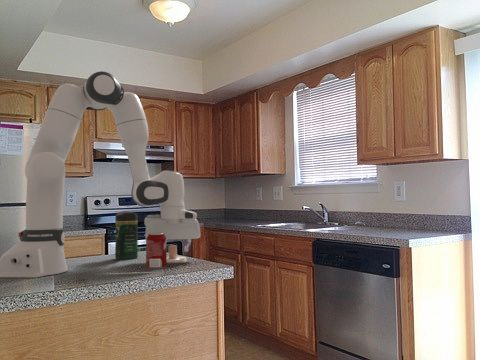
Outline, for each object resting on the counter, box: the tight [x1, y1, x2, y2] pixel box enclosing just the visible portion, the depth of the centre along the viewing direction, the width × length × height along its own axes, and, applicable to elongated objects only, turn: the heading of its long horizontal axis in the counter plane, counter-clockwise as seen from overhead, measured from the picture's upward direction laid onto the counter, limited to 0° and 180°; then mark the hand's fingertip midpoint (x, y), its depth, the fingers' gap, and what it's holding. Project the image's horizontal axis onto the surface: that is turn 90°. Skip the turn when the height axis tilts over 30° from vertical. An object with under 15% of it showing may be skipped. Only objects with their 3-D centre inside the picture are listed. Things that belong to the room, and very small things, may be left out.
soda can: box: [145, 232, 168, 270], centre depth 144 cm, size 7×7×12 cm
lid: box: [167, 245, 187, 264], centre depth 157 cm, size 10×10×5 cm
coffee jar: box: [114, 210, 139, 261], centre depth 165 cm, size 10×8×19 cm
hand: (173, 251), depth 157 cm, fingers open, 8 cm apart
